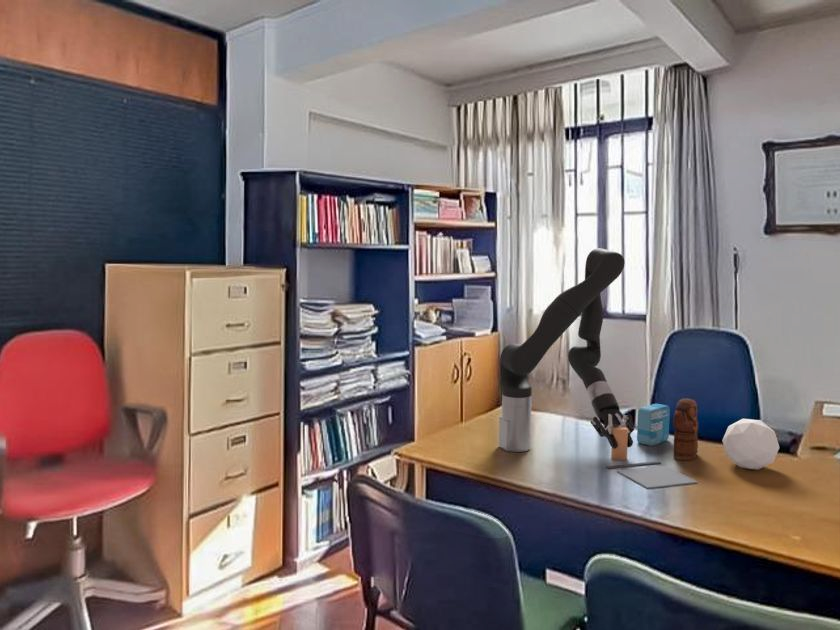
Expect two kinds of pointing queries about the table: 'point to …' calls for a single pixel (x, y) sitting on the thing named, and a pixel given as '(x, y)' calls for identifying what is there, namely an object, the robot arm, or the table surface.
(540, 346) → the robot arm
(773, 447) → the geometric sphere
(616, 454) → the throwing cylinder
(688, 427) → the wooden figurine
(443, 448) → the table surface
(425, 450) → the table surface
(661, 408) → the data package
